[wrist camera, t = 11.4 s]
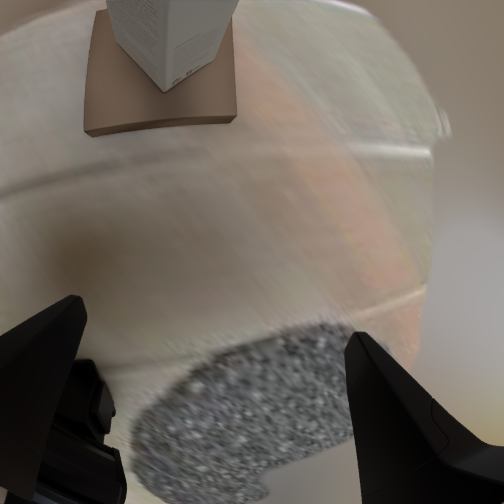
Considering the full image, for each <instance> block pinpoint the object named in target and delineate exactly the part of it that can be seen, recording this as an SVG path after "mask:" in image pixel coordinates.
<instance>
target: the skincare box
mask: <svg viewBox="0 0 504 504" xmlns="http://www.w3.org/2000/svg"><path fill="white" fill-rule="evenodd" d="M238 2H239V0H106V4H107V8H108V12H109V16H110V20H111V24H112V28H113V32H114V36H115V39H116V42H117V43H118V44H119V45H120V46H121V47H122V48H123V49H124V50H125V51H126V52H127V54H128V55H129V56H130V57H131V58H132V59H133V60H134V61H135V62H136V63H137V64H138V65H139V66H140V67H141V68H142V69H143V70H144V72H145V73H146V74H147V75H148V76H149V77H150V78H151V79H152V80H153V81H154V82H155V83H156V84H157V85H158V87H159V88H160V89H161V90H162V91H163V92H166V91H167V90H169V89H170V88H172V87H173V86H174V85H176V84H177V83H179V82H180V81H182V80H183V79H184V78H186V77H187V76H189V75H191V74H192V73H194V72H195V71H197V70H198V69H200V68H201V67H203V66H205V65H206V64H208V63H210V62H211V61H213V60H214V59H215V57H216V54H217V51H218V49H219V46H220V44H221V41H222V39H223V36H224V34H225V31H226V29H227V26H228V24H229V22H230V20H231V17H232V15H233V13H234V11H235V8H236V6H237V4H238Z"/></svg>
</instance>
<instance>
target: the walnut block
mask: <svg viewBox="0 0 504 504" xmlns="http://www.w3.org/2000/svg"><path fill="white" fill-rule="evenodd" d="M236 116H237V103H236V85H235V68H234V49H233V31H232V17H231V20H230V22H229V24H228V26H227V29H226V31H225V34H224V36H223V39H222V41H221V44H220V46H219V49H218V51H217V54H216V57H215V59H214V60H213V61H211V62H210V63H208V64H206V65H205V66H203V67H201V68H200V69H198V70H197V71H195V72H194V73H192V74H191V75H189V76H187V77H186V78H184V79H183V80H182V81H180V82H179V83H177V84H176V85H174V86H173V87H172V88H170V89H169V90H167V91H166V92H163V91H162V90H161V89H160V88H159V87H158V85H157V84H156V83H155V82H154V81H153V80H152V79H151V78H150V77H149V76H148V75H147V74H146V73H145V72H144V70H143V69H142V68H141V67H140V66H139V65H138V64H137V63H136V62H135V61H134V60H133V59H132V58H131V57H130V56H129V55H128V54H127V52H126V51H125V50H124V49H123V48H122V47H121V46H120V45H119V44H118V43H117V42H116V39H115V36H114V32H113V28H112V24H111V20H110V16H109V12H108V9H104V10H99V11H96V16H95V21H94V26H93V31H92V37H91V43H90V50H89V57H88V66H87V75H86V86H85V102H84V132H85V133H87V134H88V135H90V136H91V137H97V136H103V135H109V134H115V133H121V132H128V131H135V130H143V129H152V128H161V127H172V126H184V125H199V124H223V123H230V122H231V121H232V120H233V119H234V118H235V117H236Z"/></svg>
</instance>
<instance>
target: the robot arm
mask: <svg viewBox="0 0 504 504" xmlns="http://www.w3.org/2000/svg"><path fill="white" fill-rule="evenodd" d="M86 322H87V312H86V309H85V305H84V302H83V299H82V297H80V296H77V295H69V296H67V297H65V298H64V299H62V300H60V301H58V302H57V303H55V304H53V305H51V306H50V307H48V308H46V309H44V310H43V311H41V312H39V313H38V314H36V315H34V316H33V317H31V318H29V319H27V320H26V321H24V322H22V323H21V324H19V325H17V326H16V327H14V328H13V329H11V330H9V331H8V332H6V333H4V334H3V335H1V336H0V504H124V503H125V499H126V494H127V483H126V478H125V474H124V470H123V466H122V462H121V457H120V453H119V450H118V449H116V448H113V447H112V448H111V447H109V446H107V445H105V444H104V436H105V434H109V432H110V427H111V419H112V417H114V416H115V415H116V410H115V408H114V406H113V404H114V402H113V400H112V398H111V396H110V393H109V391H108V389H107V387H106V385H105V383H104V382H103V381H102V380H101V378H100V376H99V374H98V371H97V369H96V366H95V364H94V362H92V361H91V360H79V361H74V360H75V357H76V354H77V351H78V347H79V344H80V341H81V338H82V335H83V331H84V328H85V325H86ZM344 358H345V371H346V385H347V395H348V402H349V408H350V414H351V420H352V426H353V432H354V439H355V446H356V453H357V460H358V469H359V478H360V487H361V497H362V504H504V447H503V446H494V445H489V444H487V443H485V442H483V441H481V440H480V439H479V438H477V437H476V436H475V435H474V434H473V433H471V432H470V431H469V430H468V429H467V428H465V427H464V426H463V425H462V424H461V423H459V422H458V421H457V420H456V419H455V418H454V417H453V416H452V415H450V414H449V413H448V412H447V411H446V410H445V409H444V408H443V407H442V406H441V405H440V404H439V403H438V402H437V401H436V400H435V399H434V398H432V396H431V395H430V394H429V393H428V392H427V391H426V390H425V389H424V388H423V387H422V386H421V385H420V384H419V383H418V382H417V381H416V380H415V379H414V378H413V377H412V376H411V375H410V374H409V373H408V372H407V371H406V370H405V369H404V368H403V367H402V366H401V365H399V364H398V363H397V362H396V361H395V360H394V359H393V358H392V357H391V356H390V355H389V354H388V353H387V352H386V351H385V350H384V349H383V348H382V347H381V346H380V345H379V344H378V343H377V342H376V341H375V340H374V339H373V338H372V337H371V336H370V335H369V334H367V333H366V332H358V331H356V332H354V333H353V334H352V336H351V338H350V340H349V342H348V344H347V345H346V348H345V351H344ZM87 365H90V366H91V367H89V366H87Z"/></svg>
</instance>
